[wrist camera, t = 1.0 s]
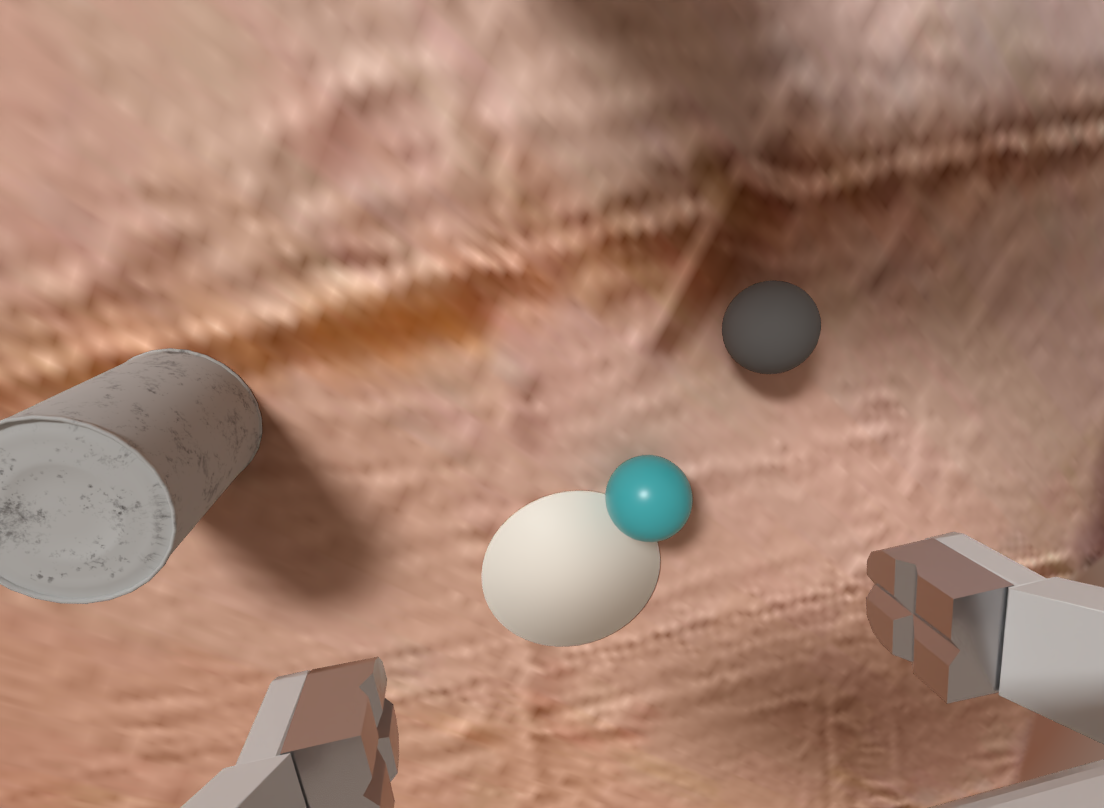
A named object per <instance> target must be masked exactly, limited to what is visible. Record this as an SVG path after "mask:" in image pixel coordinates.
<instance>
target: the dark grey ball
mask: <svg viewBox="0 0 1104 808" xmlns="http://www.w3.org/2000/svg"><path fill="white" fill-rule="evenodd" d="M820 331H821V320H820V315H819V311H818V308H817V306H816V304H815V303H814V301H813V300H812V298H811V297H810V296H809V295H808V294H807V293H806V292H805V291H804V290H802V289H801V288H799V287H797V286H795V285H793V284H790V283H787V282H783V281H765V282H760V283H757V284H754V285H752V286H750V287H748V288H746V289H744V290H743V291H741V292H740V293H739V294H738V295H737V296H736V297H735V298H734V299H733V300H732V302H731V303H730V305H729V306H728V308H727V310H726V312H725V315H724V318H723V323H722V336H723V341H724V344H725V347H726V349H727V351H728V352H729V354H730V355H731V356H732V358H733V359H734V360H735V361H736V362H737V363H739V364H740V365H741V366H743V367H744V368H746V369H748V370H751V371H753V372H757V373H762V374H777V373H782V372H785V371H788V370H791V369H793V368H795V367H796V366H798V365H800V364H801V363H802V362H804V361H805V360H806V359H807V358H808V357H809V355H810V354H811V353H812V351H813V350H814V348H815V346H816V345H817V342H818V339H819V336H820Z"/></svg>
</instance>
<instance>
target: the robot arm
mask: <svg viewBox="0 0 1104 808" xmlns="http://www.w3.org/2000/svg"><path fill="white" fill-rule="evenodd" d="M867 575H868V577H869V578H870V579H871V580H872V581H873V583H874V586H873V588H872V589H871V591H870V592H869V594H868V596H867V597H866V609H867V618H868V620H869V623H870V626H871V628H872V631H873V633H874V634H875V636H876V637H877V639H878V640H879V641H880V643H881V644H882V645H883V646H884V647H885V648H886V649H887V650H888V651H889V652H890V653H891V654H893V655H895V656H898V657H901V658H903V659H906V660H908V661H911V662H912V668H913V674H915V675H916V676H917V677H918V678H919V679H920V680H921V681H922V682H923V683H925V684H926V685H927V686H928V687H929V688H930V689H931V690H932V691H933V692H935V693H936V694H937V695H938V696H939V697H940V698H941V699H942V700H944V701H945V702H946V703H952V702H956V701H961V700H966V699H970V698H975V697H979V696H984V695H988V694H993V693H997V692H999V695H1000V696H1002V697H1004V698H1006V699H1008V700H1010V701H1012V702H1014V703H1017V704H1019V705H1021V706H1023V707H1025V708H1027V709H1029V710H1031V711H1034V712H1036V713H1038V714H1040V715H1042V716H1045V717H1046V718H1048V719H1051V720H1053V721H1055V722H1057V723H1059V724H1061V725H1063V726H1065V727H1068V728H1070V729H1072V730H1074V731H1076V732H1078V733H1080V734H1083V735H1085V736H1087V737H1089V738H1091V739H1093V740H1095V741H1097V742H1100V743H1102V744H1104V588H1103V587H1099V586H1094V585H1090V584H1085V583H1080V582H1077V581H1072V580H1068V579H1063V578H1059V577H1052V578H1048V579H1047V578H1045V577H1043V576H1041V575H1039V574H1037V573H1036V572H1034V571H1032V570H1030V569H1028V568H1026V567H1024V566H1023V565H1021V564H1019V563H1017V562H1015V561H1013V560H1011V559H1010V558H1008V557H1006V556H1004V555H1002V554H1000V553H998V552H997V551H995V550H993V549H991V548H989V547H987V546H985V545H984V544H982V543H980V542H978V541H976V540H974V539H972V538H971V537H969V536H967V535H965V534H962V533H956V532H950V533H946V534H942V535H938V536H934V537H930V538H926V539H925V540H921V541H917V542H913V543H908V544H904V545H899V546H895V547H891V548H886V549H882V550H877V551H873V552H871V553H870V556H869V558H868V560H867ZM386 685H387V677H386V673H385V670H384V666H383V662H382V661H381V659H380V658H379V657H374V658H369V659H364V660H359V661H354V662H348V663H343V664H338V665H333V666H328V667H322V668H317V669H313V670H311V671H310V670H307V671H302V672H298V673H293V674H288V675H284V676H279V677H277V678H276V679H274V680H273V681H272V682H271V684H270V686H269V688H268V690H267V693H266V695H265V697H264V700H263V702H262V704H261V707H260V709H259V711H258V714H257V716H256V718H255V721H254V723H253V725H252V728H251V730H250V732H249V735H248V737H247V739H246V742H245V744H244V746H243V749H242V751H241V753H240V756H239V758H238V760H237V763H236V765H235V766H231V767H227V768H224V769H223V770H221V771H220V772H219V773H218V774H217V775H216V776H215V777H214V778H213V779H212V780H210V781H209V782H208V783H207V784H206V785H205V786H204V787H203V788H202V789H200V790H199V791H198V792H197V793H196V794H195V795H194V796H193V797H192V798H191V799H189V800H188V801H187V802H186V803H185V804H184V805H183V806H182V807H181V808H394V803H395V800H394V795H393V791H392V787H391V783H390V782H391V781H392V780H393V778H394V777H395V776H396V774H397V773H398V763H399V734H398V727H397V720H396V715H395V710H394V706H393V704H392V703H391V702H390V701H388V700H387V699H386V698H385V692H386ZM929 808H1104V759H1103V760H1099V761H1096V762H1092V763H1088V764H1085V765H1081V766H1078V767H1074V768H1070V769H1067V770H1063V771H1060V772H1056V773H1052V774H1049V775H1045V776H1042V777H1038V778H1034V779H1031V780H1027V781H1023V782H1020V783H1016V784H1012V785H1009V786H1005V787H1001V788H998V789H994V790H991V791H987V792H983V793H980V794H976V795H972V796H969V797H965V798H962V799H958V800H954V801H951V802H947V803H944V804H940V805H936V806H933V807H929Z"/></svg>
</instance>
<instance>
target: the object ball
mask: <svg viewBox="0 0 1104 808" xmlns="http://www.w3.org/2000/svg"><path fill="white" fill-rule="evenodd" d="M605 500H606V507H607V511H608V514H609V516H610V518H611V520H612V521H613V523H614V524H615V526H616V527H617V528H618V529H619V530H620V531H621V532H622V533H624V534H625V535H627V536H629V537H630V538H632V539H635V540H638V541H642V542H658V541H662V540H665V539H668V538H670V537H672V536H673V535H675V534H676V533H677V532H678V531H680V530H681V529H682V527H683V526H684V525H685V523H686V522H687V520H688V518H689V516H690V513H691V509H692V502H693V498H692V490H691V486H690V484H689V481H688V479H687V478H686V476H685V474H684V473H683V472H682V470H681V469H680V468H679V467H678V466H676V465H675V464H674V463H672V462H671V461H669V460H667V459H665V458H662V457H659V456H654V455H642V456H637V457H634V458H631V459H629V460H627V461H625V462H624V463H622V464H621V465H620V466H619V467H618V468H617V469H616V470H615V471H614V473H613V474H612V476H611V477H610V479H609V481H608V484H607V488H606V494H605Z"/></svg>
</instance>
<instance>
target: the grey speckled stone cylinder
mask: <svg viewBox="0 0 1104 808" xmlns="http://www.w3.org/2000/svg"><path fill="white" fill-rule="evenodd" d="M261 437H262V417H261V413H260V410H259V406H258V403H257V401H256V399H255V397H254V395H253V394H252V392H251V390H250V388H249V387H248V386H247V385H246V384H245V382H244V381H243V380H242V379H241V378H240V377H239V376H238V375H237V374H236V373H235V372H233V371H232V370H231V369H230V368H228V367H227V366H226V365H224V364H223V363H221V362H219V361H217V360H215V359H213V358H211V357H209V356H207V355H204V354H200V353H197V352H193V351H190V350H182V349H170V348H169V349H160V350H152V351H149V352H146V353H143V354H140V355H137V356H135V357H133V358H131V359H130V360H128V361H127V362H125V363H123V364H121V365H119V366H117V367H115V368H113V369H111V370H109V371H106V372H104V373H102V374H100V375H98V376H96V377H94V378H92V379H89V380H87V381H85V382H83V383H81V384H79V385H77V386H74V387H72V388H70V389H68V390H66V391H64V392H62V393H60V394H57V395H55V396H53V397H51V398H49V399H47V400H45V401H42V402H40V403H38V404H36V405H34V406H32V407H30V408H28V409H25V410H23V411H21V412H19V413H17V414H15V415H13V416H11V417H8V418H6V419H3V420H0V584H1V585H3V586H5V587H6V588H8V589H10V590H13V591H15V592H18V593H21V594H24V595H27V596H29V597H32V598H35V599H40V600H46V601H51V602H56V603H70V604H88V603H94V602H101V601H107V600H111V599H114V598H117V597H120V596H122V595H125V594H128V593H131V592H133V591H134V590H136V589H137V588H139V587H141V586H142V585H144V584H145V583H147V582H149V581H150V580H151V579H152V578H153V577H154V576H155V575H156V574H157V573H158V572H159V571H160V570H161V568H162V567H163V566H164V565H165V564H166V562H167V560H168V558H169V556H170V555H171V554H172V553H173V551H174V550H175V549H176V548H177V547H178V545H179V544H180V543H181V542H182V541H183V539H184V538H185V537H186V536H187V535H188V534H189V532H190V531H191V530H192V529H193V528H194V526H195V525H196V524H197V523H198V522H199V520H200V519H201V518H202V517H203V516H204V515H205V513H206V512H207V511H208V510H209V509H210V507H211V506H212V505H213V504H214V503H215V501H216V500H217V499H218V498H219V497H220V496H221V494H222V493H223V492H224V491H225V490H226V488H227V487H228V486H229V485H230V484H231V482H232V481H233V480H234V479H235V478H236V477H237V475H238V474H239V473H241V472H242V471H243V470H244V468H245V467H246V466H247V465H248V464H249V463H250V462H251V461H252V459H253V458H254V456H255V454H256V452H257V450H258V449H259V445H260V441H261Z"/></svg>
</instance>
